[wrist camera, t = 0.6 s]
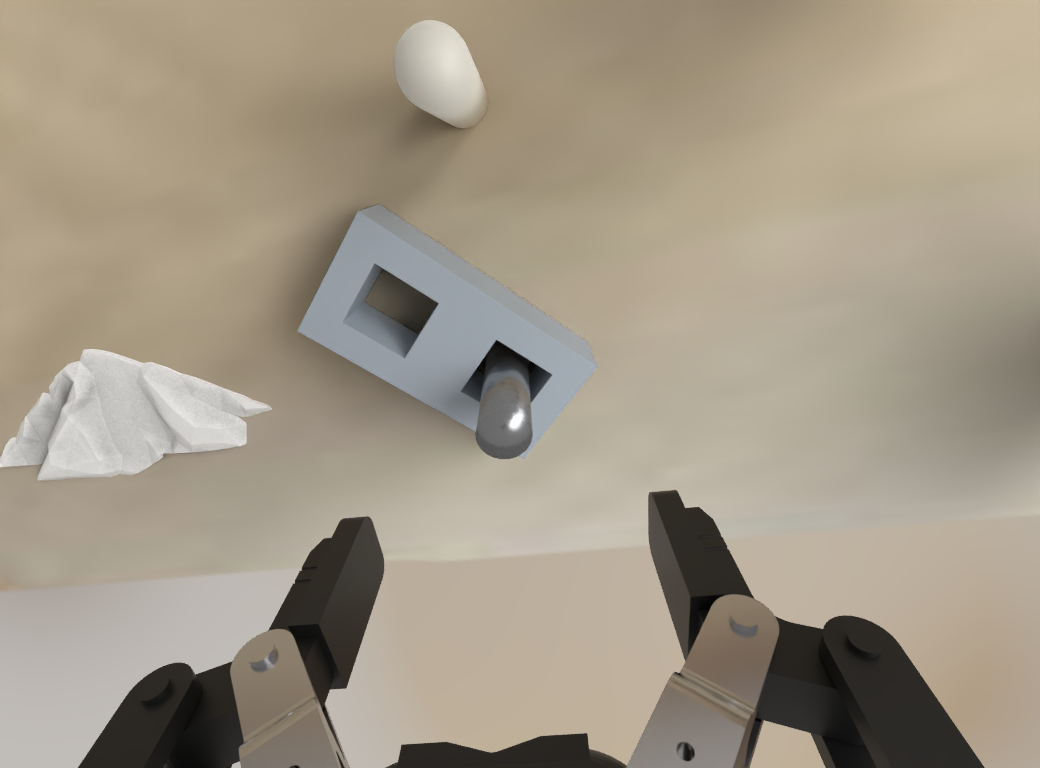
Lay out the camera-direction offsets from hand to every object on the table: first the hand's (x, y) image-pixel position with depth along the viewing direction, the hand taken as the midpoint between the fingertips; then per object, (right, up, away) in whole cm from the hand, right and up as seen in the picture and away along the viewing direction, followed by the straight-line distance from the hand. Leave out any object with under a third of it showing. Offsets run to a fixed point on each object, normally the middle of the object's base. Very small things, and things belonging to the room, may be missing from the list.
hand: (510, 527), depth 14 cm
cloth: (-33, +1, +27) cm, 43 cm away
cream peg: (-3, +22, +17) cm, 28 cm away
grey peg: (-1, +6, +24) cm, 25 cm away
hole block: (-4, +9, +23) cm, 25 cm away
